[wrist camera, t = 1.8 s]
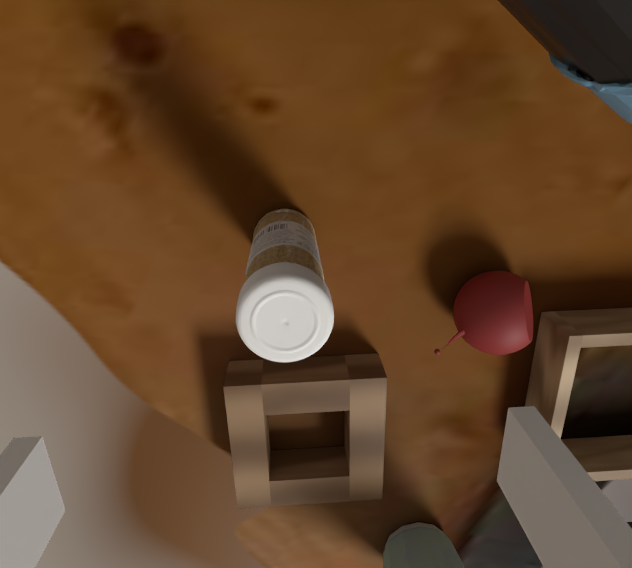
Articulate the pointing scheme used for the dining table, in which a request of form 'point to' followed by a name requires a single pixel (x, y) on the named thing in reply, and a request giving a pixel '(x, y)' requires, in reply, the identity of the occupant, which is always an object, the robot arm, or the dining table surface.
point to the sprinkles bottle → (284, 290)
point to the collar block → (306, 397)
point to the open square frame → (558, 374)
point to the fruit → (494, 313)
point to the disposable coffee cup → (420, 548)
